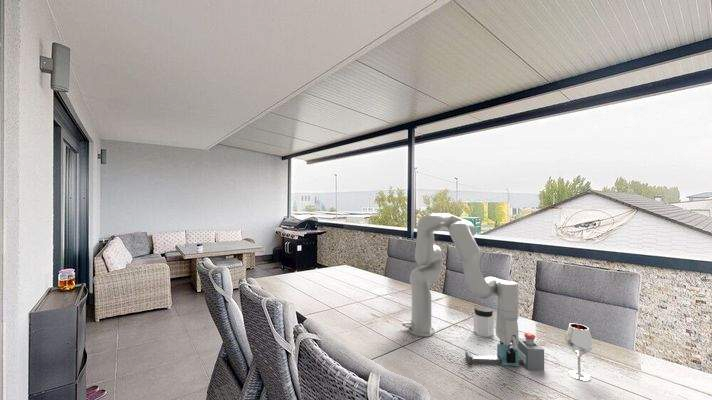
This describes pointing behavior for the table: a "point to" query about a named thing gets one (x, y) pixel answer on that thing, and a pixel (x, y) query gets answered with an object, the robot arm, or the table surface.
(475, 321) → the jar
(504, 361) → the carriage
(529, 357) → the housing
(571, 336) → the wineglass
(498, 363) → the rail
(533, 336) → the plunger
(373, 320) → the table surface
